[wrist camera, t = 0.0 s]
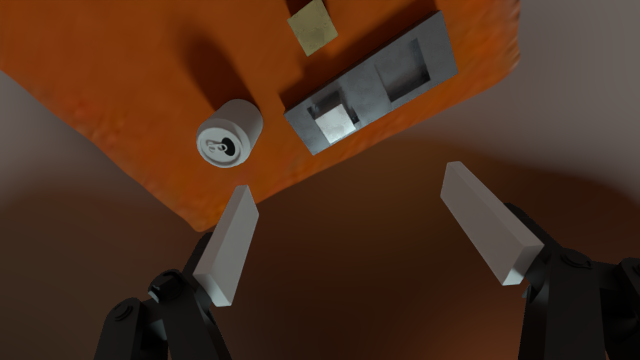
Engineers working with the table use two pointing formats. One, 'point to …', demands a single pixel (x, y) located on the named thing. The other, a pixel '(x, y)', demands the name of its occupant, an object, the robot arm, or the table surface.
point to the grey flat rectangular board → (381, 79)
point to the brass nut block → (312, 26)
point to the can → (230, 133)
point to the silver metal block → (334, 118)
